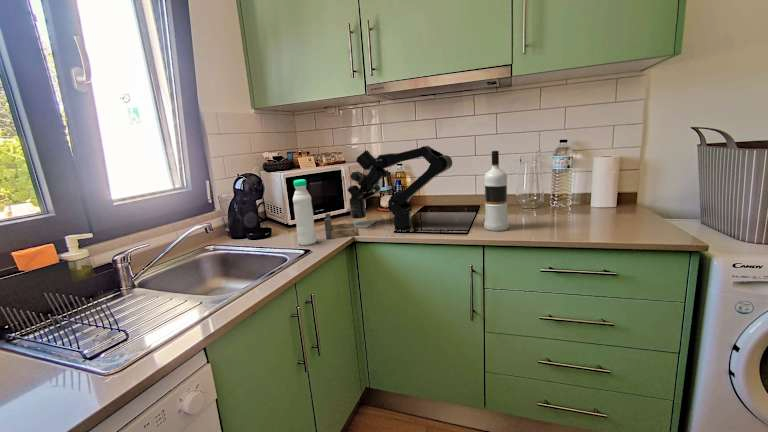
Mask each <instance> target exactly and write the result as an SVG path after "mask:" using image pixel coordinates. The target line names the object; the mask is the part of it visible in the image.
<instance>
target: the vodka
mask: <svg viewBox="0 0 768 432" xmlns="http://www.w3.org/2000/svg"><path fill="white" fill-rule="evenodd" d="M499 152H500V151H499V150H492V151H491V169H489V170H488V171H487V172H485V174H484V177H483V178H484V179H483V181H484V200H485V201H484V202H485V203H484V208H485V215H484V216H485V218H484V223H483V225H484V229H485V230H487V231H491V232H502V231H506V230H508V229H509V227H510V222H509V218H508V192H507V191H508V187H507V186H508V174H507V173H506V171H504V170H502V169H501V168H500V158H499V157H500V156H499V155H500V153H499Z"/></svg>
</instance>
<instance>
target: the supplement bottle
mask: <svg viewBox="0 0 768 432" xmlns="http://www.w3.org/2000/svg"><path fill="white" fill-rule="evenodd" d="M350 195H351V194H350ZM351 196H352V195H351ZM350 200H351V197H350V198H349V201H350ZM365 200H366V199H364V197H362V199H361V200H359V201H357V202H356V203H354V204H352V205H351V204H350V203H349V207H350V208H349V210H350V218H351V219H355V220H356V219H363V218H365V217H367V212H366V201H365Z"/></svg>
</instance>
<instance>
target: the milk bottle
mask: <svg viewBox="0 0 768 432" xmlns="http://www.w3.org/2000/svg"><path fill="white" fill-rule="evenodd" d="M307 183H308V182H307V179H303V178H302V179H294V180H293V186H294V189H295V190H294V193H293V197H292V203H293V213H294V219H295V220H294V221H295V225H296V234H297V244H298V245H301V246H312V245H314V244H315V243H316V242H317V236H316V226H315V220H314V217H315V216H314V209H313V203H312V196H311V194H310V193H309V191H308V189H307Z"/></svg>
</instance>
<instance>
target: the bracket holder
mask: <svg viewBox="0 0 768 432" xmlns="http://www.w3.org/2000/svg"><path fill="white" fill-rule="evenodd" d="M324 216H325V218H324V221H323V222H324V229H325V230H324V231H325V237H326V238H325V240H331V239H338V238H349V236H350V237H357V236H358V230H357V229H358V228H356V226H354V224H353V223H350V222H346V223H345V222H343V223H334V224H333V223H332V218H331V213H330V212H329V213H325V215H324Z"/></svg>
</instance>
